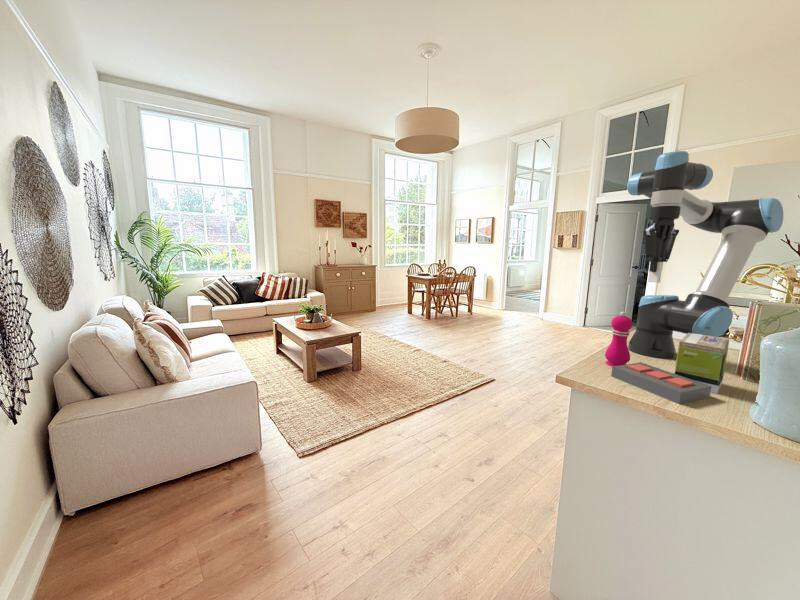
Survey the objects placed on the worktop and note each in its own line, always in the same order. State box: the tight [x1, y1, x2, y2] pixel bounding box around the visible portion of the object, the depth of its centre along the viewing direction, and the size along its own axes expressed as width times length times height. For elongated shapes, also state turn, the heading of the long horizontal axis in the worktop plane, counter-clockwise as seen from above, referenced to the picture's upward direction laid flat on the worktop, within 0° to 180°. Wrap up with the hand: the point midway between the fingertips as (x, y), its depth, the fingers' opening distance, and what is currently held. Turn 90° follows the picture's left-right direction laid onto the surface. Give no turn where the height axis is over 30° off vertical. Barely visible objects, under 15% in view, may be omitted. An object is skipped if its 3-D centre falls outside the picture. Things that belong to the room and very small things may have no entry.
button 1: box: [627, 364, 652, 373], centre depth 101 cm, size 5×4×4 cm
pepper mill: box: [604, 311, 633, 368], centre depth 112 cm, size 7×7×20 cm
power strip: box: [610, 361, 712, 405], centre depth 99 cm, size 13×26×4 cm, turn 19°
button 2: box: [646, 371, 672, 380], centre depth 96 cm, size 5×4×4 cm
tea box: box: [673, 333, 730, 395], centre depth 99 cm, size 15×10×15 cm
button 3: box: [666, 377, 694, 388], centre depth 91 cm, size 5×4×4 cm
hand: (653, 282), depth 106 cm, fingers closed
